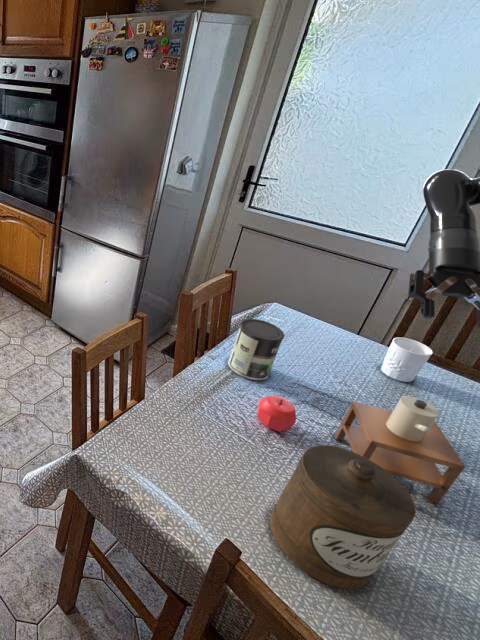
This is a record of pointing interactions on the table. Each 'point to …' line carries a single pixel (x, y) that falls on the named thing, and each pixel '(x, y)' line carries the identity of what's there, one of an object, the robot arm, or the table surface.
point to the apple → (276, 413)
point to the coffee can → (255, 349)
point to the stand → (401, 449)
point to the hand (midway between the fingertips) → (456, 322)
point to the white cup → (405, 359)
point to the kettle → (412, 418)
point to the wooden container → (340, 516)
